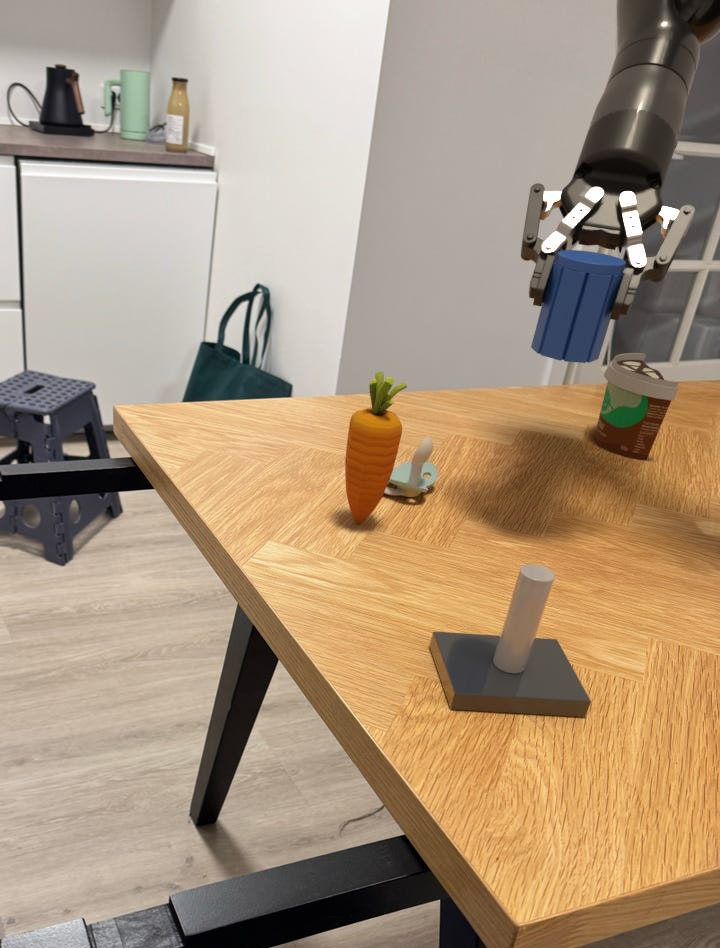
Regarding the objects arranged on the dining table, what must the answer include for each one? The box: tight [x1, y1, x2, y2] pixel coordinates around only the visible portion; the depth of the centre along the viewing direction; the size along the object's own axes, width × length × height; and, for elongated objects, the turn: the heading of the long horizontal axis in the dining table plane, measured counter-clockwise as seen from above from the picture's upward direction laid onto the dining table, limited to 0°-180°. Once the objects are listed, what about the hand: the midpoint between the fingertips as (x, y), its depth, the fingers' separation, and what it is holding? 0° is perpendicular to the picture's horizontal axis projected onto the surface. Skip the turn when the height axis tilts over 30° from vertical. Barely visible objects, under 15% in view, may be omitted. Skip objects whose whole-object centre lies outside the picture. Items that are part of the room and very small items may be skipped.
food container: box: [593, 352, 679, 461], centre depth 110 cm, size 12×6×10 cm, turn 178°
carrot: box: [344, 371, 408, 525], centre depth 83 cm, size 5×5×15 cm
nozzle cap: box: [530, 249, 626, 364], centre depth 77 cm, size 6×6×8 cm
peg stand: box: [429, 563, 592, 718], centre depth 65 cm, size 10×8×10 cm
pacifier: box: [384, 435, 439, 498], centre depth 94 cm, size 7×6×6 cm
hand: (576, 306), depth 76 cm, fingers closed on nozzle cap, 6 cm apart
